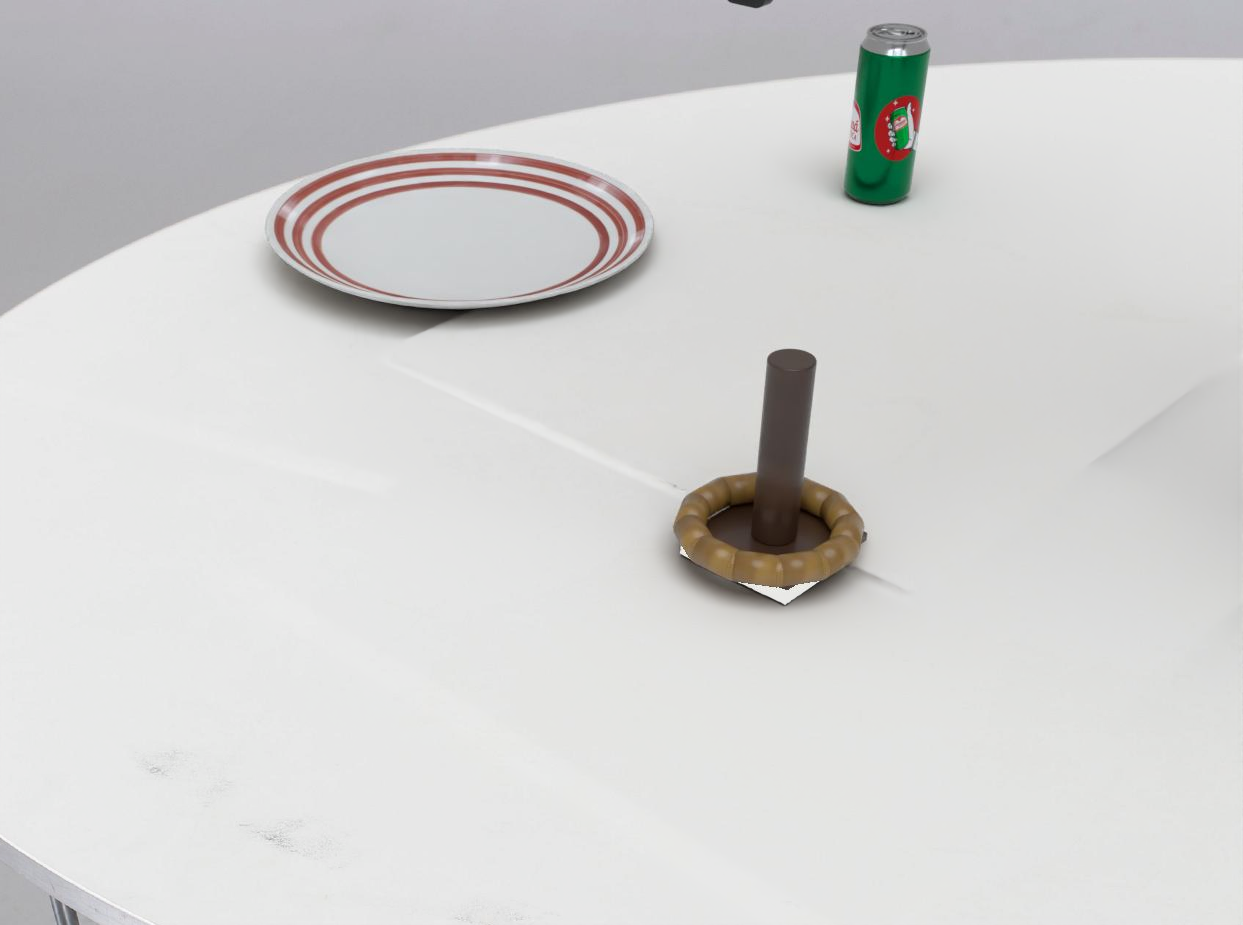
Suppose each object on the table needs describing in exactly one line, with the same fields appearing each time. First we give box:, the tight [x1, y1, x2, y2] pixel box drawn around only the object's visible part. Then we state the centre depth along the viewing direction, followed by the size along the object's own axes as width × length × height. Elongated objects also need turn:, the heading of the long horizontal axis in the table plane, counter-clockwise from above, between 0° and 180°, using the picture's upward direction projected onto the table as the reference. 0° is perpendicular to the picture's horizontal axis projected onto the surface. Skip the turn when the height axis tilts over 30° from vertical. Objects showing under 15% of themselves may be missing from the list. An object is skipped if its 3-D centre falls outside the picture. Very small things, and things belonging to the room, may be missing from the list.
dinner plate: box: [264, 147, 655, 310], centre depth 116 cm, size 28×27×3 cm
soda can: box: [843, 22, 932, 205], centre depth 121 cm, size 5×5×12 cm
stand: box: [706, 348, 868, 590], centre depth 82 cm, size 7×7×11 cm
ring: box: [672, 471, 865, 588], centre depth 84 cm, size 10×10×2 cm
